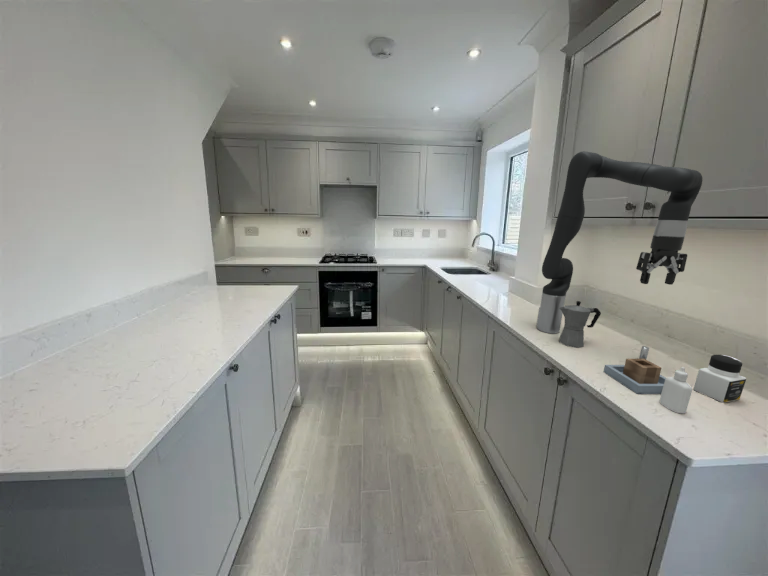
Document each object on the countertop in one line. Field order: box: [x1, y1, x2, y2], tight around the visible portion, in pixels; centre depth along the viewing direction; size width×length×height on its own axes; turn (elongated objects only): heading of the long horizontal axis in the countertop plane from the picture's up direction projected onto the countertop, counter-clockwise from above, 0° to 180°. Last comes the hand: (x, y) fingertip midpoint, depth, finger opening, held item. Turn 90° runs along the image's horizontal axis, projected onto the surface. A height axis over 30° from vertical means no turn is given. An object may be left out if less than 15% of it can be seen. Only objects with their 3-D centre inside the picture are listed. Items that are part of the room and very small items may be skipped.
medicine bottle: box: [692, 354, 747, 404], centre depth 88 cm, size 7×7×12 cm
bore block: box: [623, 358, 662, 384], centre depth 94 cm, size 6×6×6 cm
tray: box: [603, 364, 667, 395], centre depth 95 cm, size 13×13×3 cm
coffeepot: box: [558, 300, 602, 349], centre depth 122 cm, size 15×9×18 cm, turn 82°
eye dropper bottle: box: [659, 366, 693, 414], centre depth 81 cm, size 4×6×12 cm
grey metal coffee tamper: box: [638, 345, 650, 360], centre depth 105 cm, size 6×6×7 cm
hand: (656, 283), depth 101 cm, fingers open, 8 cm apart
